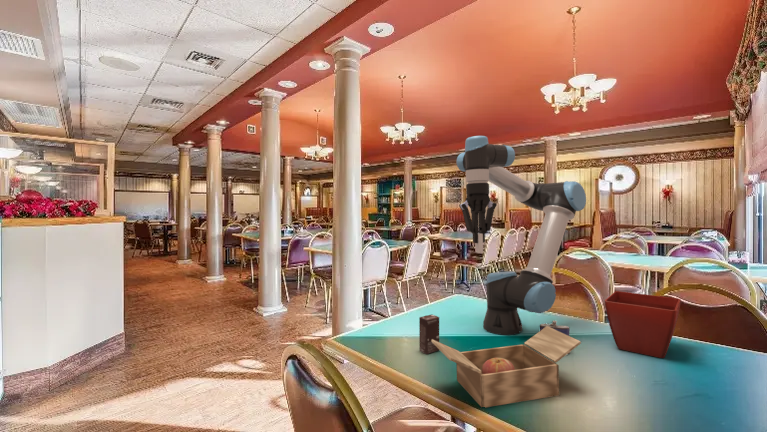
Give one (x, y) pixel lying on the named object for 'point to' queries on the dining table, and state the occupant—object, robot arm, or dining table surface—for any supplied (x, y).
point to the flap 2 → (552, 343)
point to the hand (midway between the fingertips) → (479, 252)
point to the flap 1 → (455, 356)
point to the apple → (497, 366)
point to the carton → (509, 376)
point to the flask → (556, 328)
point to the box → (428, 333)
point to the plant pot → (642, 322)
